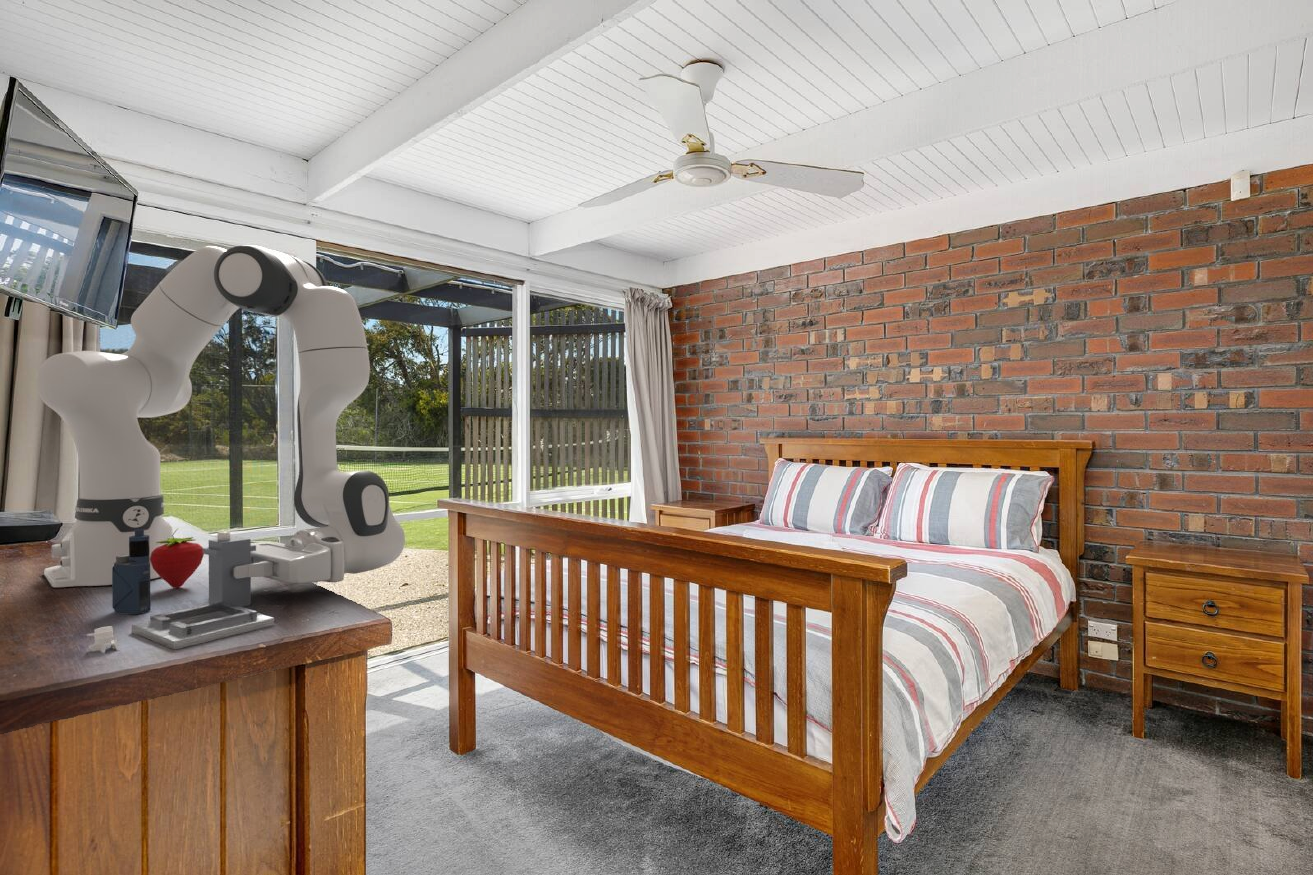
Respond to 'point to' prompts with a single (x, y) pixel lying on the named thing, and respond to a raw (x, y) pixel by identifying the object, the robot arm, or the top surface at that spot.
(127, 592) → the vaping device
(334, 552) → the robot arm
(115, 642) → the power adapter
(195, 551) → the strawberry
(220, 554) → the block
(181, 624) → the plate
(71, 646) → the top surface
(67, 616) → the top surface
